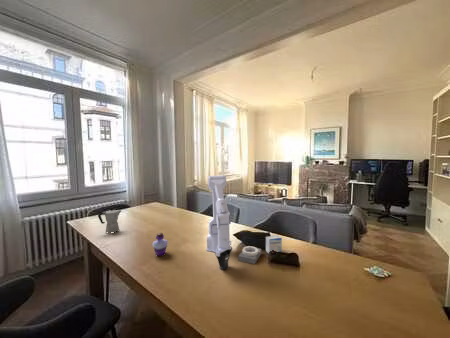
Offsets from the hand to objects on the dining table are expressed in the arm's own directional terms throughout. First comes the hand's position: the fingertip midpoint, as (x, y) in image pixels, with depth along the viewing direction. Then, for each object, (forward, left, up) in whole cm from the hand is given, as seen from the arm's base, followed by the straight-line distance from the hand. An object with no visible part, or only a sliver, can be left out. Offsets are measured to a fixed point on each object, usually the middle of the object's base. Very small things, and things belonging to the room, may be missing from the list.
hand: (223, 264), depth 103 cm
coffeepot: (-97, +12, -2) cm, 98 cm away
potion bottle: (-39, -1, -2) cm, 39 cm away
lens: (0, 0, -2) cm, 2 cm away
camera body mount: (+8, +16, -2) cm, 18 cm away
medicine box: (+19, +27, -2) cm, 33 cm away
